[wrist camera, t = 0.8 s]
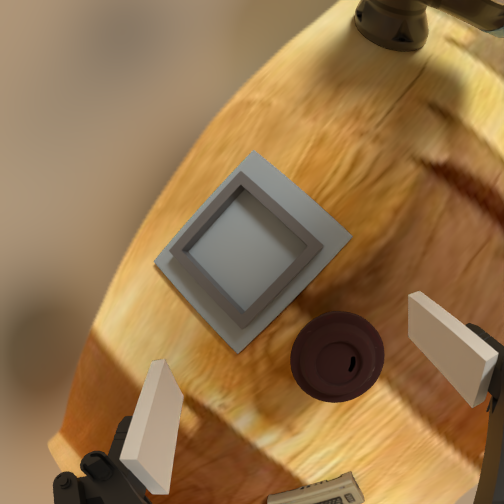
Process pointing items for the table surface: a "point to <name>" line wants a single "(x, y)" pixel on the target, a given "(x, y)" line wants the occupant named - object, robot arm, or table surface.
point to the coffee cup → (337, 357)
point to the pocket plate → (250, 250)
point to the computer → (323, 493)
